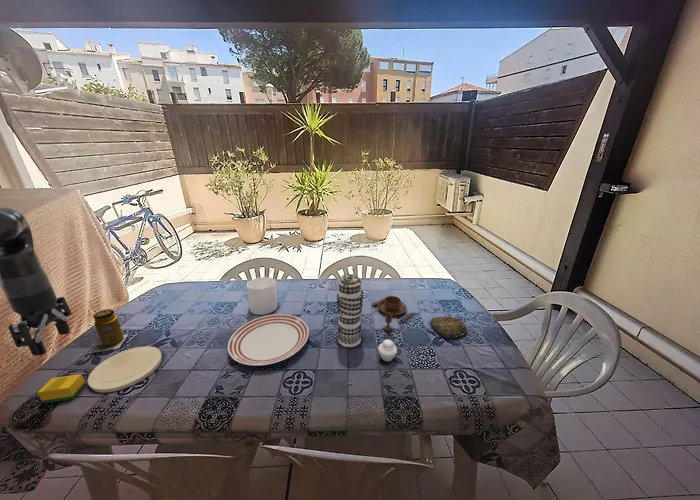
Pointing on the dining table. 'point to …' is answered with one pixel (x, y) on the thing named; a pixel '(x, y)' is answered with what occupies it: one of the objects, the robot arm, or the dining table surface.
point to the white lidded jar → (387, 350)
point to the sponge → (61, 388)
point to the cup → (262, 295)
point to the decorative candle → (349, 310)
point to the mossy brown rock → (448, 326)
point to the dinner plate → (268, 339)
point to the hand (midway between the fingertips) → (53, 343)
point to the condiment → (108, 330)
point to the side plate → (124, 369)
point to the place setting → (391, 309)
